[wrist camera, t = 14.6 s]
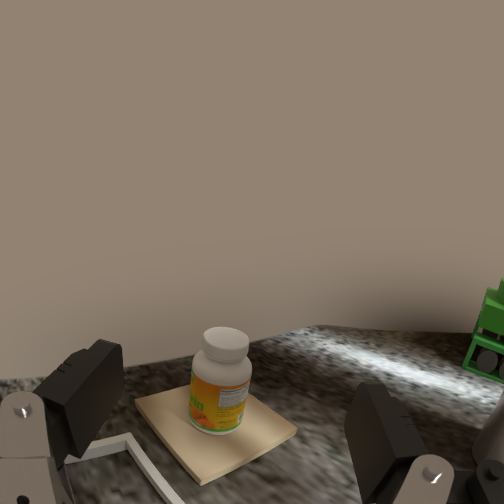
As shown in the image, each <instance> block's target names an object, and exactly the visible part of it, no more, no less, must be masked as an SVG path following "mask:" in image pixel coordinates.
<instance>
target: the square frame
mask: <svg viewBox="0 0 504 504" xmlns="http://www.w3.org/2000/svg"><path fill="white" fill-rule="evenodd" d="M124 450H128V451H129V453H130V454H131V456H132V457H133V459H134V460H135V462H136V463H137V465H138V466H139V467H140V469H141V470H142V472H143V473H144V475H145V476H146V477H147V479H148V480H149V481H150V483H151V484H152V485H153V487H154V488H155V489H156V491H157V492H158V493H159V495H160V496H161V497H162V498H163V500H164V501H165V502H166V503H167V504H185V503H184V502H183V501H182V500H181V499H180V497H179V496H178V495H177V494H176V493H175V492H174V490H173V489H172V488H171V487H170V485H169V484H168V483H167V482H166V481H165V479H164V478H163V477H162V476H161V474H160V473H159V472H158V470H157V469H156V468H155V466H154V465H153V464H152V462H151V461H150V460H149V458H148V457H147V456H146V454H145V453H144V451H143V450H142V449H141V447H140V446H139V444H138V443H137V442H136V440H135V439H134V437H133V436H132V434H131V433H130V432H129V433H125V434H121V435H117V436H113V437H109V438H105V439H101V440H97V441H92V442H91V444H90V445H89V447H88V448H87V450H86V452H85V453H84V455H83V456H82V458H81V459H78V458H76V457H74V456H72V455H69V454H68V456H67V457H66V459H65V460H64V462H65V464H69V463H74V462H79V461H83V460H88V459H92V458H97V457H101V456H105V455H109V454H113V453H117V452H120V451H124Z"/></svg>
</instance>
